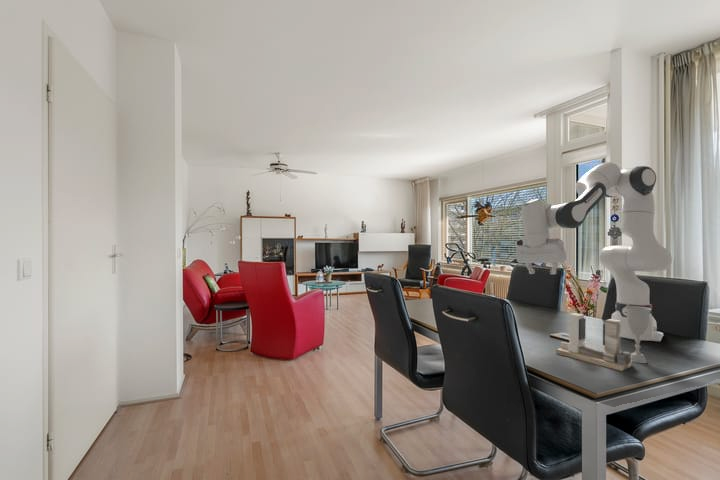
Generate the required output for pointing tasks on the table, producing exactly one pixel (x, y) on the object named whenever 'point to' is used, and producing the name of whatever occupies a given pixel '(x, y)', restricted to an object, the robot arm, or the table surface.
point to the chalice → (638, 328)
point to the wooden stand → (612, 349)
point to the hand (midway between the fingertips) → (542, 273)
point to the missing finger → (576, 332)
